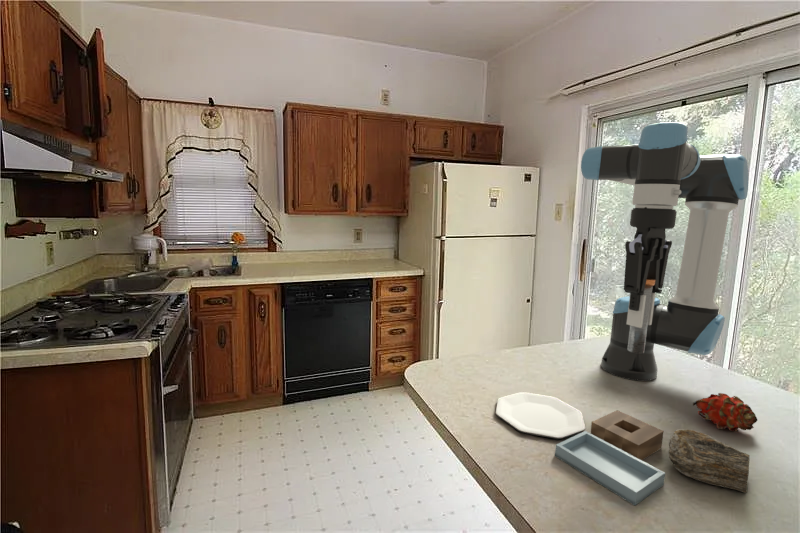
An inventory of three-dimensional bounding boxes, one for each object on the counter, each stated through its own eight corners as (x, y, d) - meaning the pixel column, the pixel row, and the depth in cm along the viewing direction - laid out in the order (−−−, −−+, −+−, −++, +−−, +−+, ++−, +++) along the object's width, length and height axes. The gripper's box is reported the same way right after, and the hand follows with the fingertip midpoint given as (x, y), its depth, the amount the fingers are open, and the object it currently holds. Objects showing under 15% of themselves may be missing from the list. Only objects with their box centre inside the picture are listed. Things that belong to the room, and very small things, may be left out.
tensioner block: (589, 438, 91) (591, 421, 90) (615, 426, 96) (617, 410, 95) (636, 463, 82) (638, 445, 82) (661, 448, 88) (663, 430, 87)
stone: (652, 453, 80) (676, 410, 82) (661, 470, 86) (683, 429, 89) (737, 501, 70) (762, 449, 72) (740, 515, 76) (762, 468, 78)
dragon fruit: (758, 447, 92) (693, 431, 101) (762, 414, 96) (700, 402, 105) (753, 424, 88) (686, 410, 97) (758, 392, 93) (694, 381, 102)
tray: (554, 456, 84) (555, 444, 84) (584, 441, 89) (585, 430, 89) (634, 505, 71) (636, 492, 70) (663, 485, 76) (665, 472, 76)
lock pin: (622, 349, 85) (630, 278, 83) (631, 346, 87) (640, 276, 85) (639, 355, 82) (649, 281, 80) (649, 352, 84) (659, 279, 82)
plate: (539, 451, 86) (540, 444, 86) (479, 407, 103) (480, 402, 103) (602, 428, 95) (602, 422, 95) (537, 392, 113) (538, 387, 112)
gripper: (653, 207, 73) (636, 335, 77) (694, 208, 81) (678, 324, 85) (612, 206, 79) (598, 324, 83) (654, 207, 88) (640, 315, 91)
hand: (638, 324), depth 84 cm, fingers closed on lock pin, 3 cm apart
